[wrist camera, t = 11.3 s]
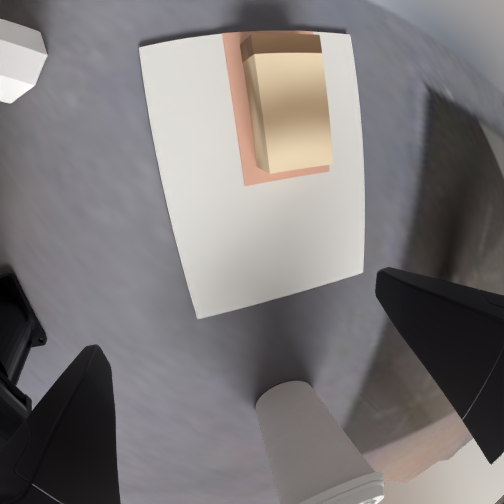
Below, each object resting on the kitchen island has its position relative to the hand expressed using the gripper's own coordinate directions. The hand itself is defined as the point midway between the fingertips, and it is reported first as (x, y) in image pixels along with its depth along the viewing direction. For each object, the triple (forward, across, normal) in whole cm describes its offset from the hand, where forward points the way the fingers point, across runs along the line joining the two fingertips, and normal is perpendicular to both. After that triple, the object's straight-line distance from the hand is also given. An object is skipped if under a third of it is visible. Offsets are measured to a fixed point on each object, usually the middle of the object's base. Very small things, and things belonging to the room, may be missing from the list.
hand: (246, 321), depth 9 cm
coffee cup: (+12, -4, +22) cm, 25 cm away
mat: (+12, -5, -2) cm, 13 cm away
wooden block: (+12, -6, -6) cm, 14 cm away
